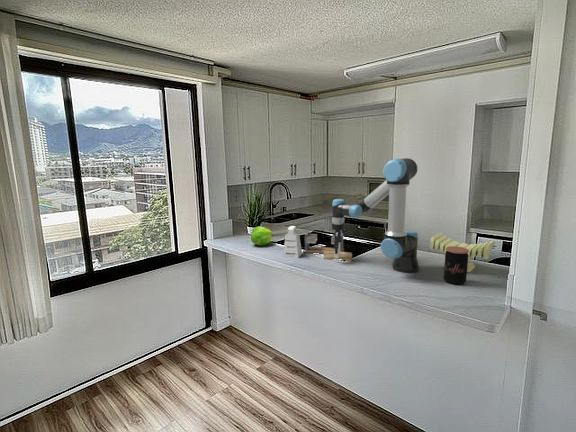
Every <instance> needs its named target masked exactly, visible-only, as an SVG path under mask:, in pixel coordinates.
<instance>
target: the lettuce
mask: <svg viewBox="0 0 576 432" xmlns="http://www.w3.org/2000/svg"><path fill="white" fill-rule="evenodd" d="M272 236H273V232H272V230H270V229H269V228H268V227H264V226H261V225H260V226H259V225H258V226H256V227H254V228H253V229H252V231H251V233H250V241H251V243H253V244H254V245H257V246H266V245H267V244H269V243H271V240H272Z"/></svg>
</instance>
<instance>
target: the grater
mask: <svg viewBox="0 0 576 432" xmlns="http://www.w3.org/2000/svg"><path fill="white" fill-rule="evenodd" d="M302 254H303V251H302V244H301V237H300V232H299V231H297V226H296V225H290V226H288V228H287V232H286V233H285V236H284V245H283V255H282V258H288V257H289V259H290V258H291V259H292V258H293V259H299V258H300V256H301V255H302Z"/></svg>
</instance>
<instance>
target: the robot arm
mask: <svg viewBox="0 0 576 432" xmlns="http://www.w3.org/2000/svg"><path fill="white" fill-rule="evenodd" d="M382 173H383V174H382V175H383V176H384V178H385V180H384V181H383V182H382V183H381V184H380V185H378V187H376V188H375V189H373V191H371V192H370V193H369V194H368V195H367V196H366V197H365V198H364V199H362V200H361V201H360V202H356V203H345V200H344V199H342V198H336V199H333V200H332V203H331V204H332V206H331V207H332V208H331V210H332V213H331V214H332V215H331V216H332V217H331V229H332V230H333V231H334V234H333V235H335V237H334V238H335V241H334V244H333V247H332V248H333V249H334V258H337V259H338V256H339V252H340V242H342V241H341V233H342V231H343V230H344V229H345V226H344V225H345V221H346V219H345V217H351V218H360V217H361V216H362V215H363V214H368V213H370V212H372V209H373V208H374V207H375V206H377V204H379V203H380V202H381V201H383V200H384V199H385V198H387V196H388V216H387V217H388V219H387V231H385V232H384V239H383V240H382V242H381V243H380V251H381V252H382V254H383V256H385V257H386V258H389V259H393V261H392V264H391V268H392V269H393V270H394V271H396V272H400V273H407V274H410V273H411V274H412V273H417V272H419V271H420V263H419V260H418V257H417V256H418V243H419V242H418V241H419V233H418V232H417V231H413V230H407V229H405V220H406V218H405V217H406V205H407V204H406V202H407V201H406V200H407V197H406V196H407V187H408V186H410V181H411V180H412V179H413V178H414V177H415V176H416V175H417V173H418V164H417V163H416V161H415V160H413V159H411V158H408V157H407V158H406V157H405V158H394V159H391V160H389V161H387V163H386V164H385V165H384V167H383V170H382Z"/></svg>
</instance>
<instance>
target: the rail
mask: <svg viewBox="0 0 576 432" xmlns="http://www.w3.org/2000/svg"><path fill="white" fill-rule="evenodd" d="M323 259H324V260H329V261H330V260H333V259H337V258H334V251H326V250H325V251H324V254H323ZM338 259H342V260H345V261H344V262H352V260H353V252H351V251H350V252H349V251H344V252H339V256H338ZM333 261H334V260H333Z"/></svg>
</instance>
